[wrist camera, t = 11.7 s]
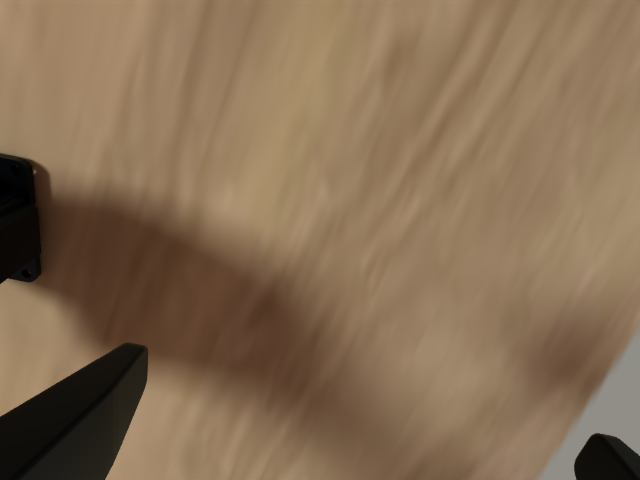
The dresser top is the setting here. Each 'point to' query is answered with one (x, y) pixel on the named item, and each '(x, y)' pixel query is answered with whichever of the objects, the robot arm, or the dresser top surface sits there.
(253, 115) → the dresser top surface
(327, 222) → the dresser top surface
